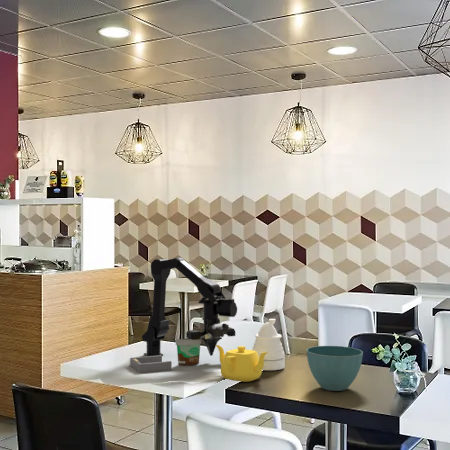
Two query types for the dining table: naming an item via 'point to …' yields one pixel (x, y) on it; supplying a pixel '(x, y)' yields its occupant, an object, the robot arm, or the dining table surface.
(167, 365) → the pocket bay
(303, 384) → the dining table surface
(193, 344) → the food container
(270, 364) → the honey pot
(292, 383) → the dining table surface
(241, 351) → the teapot
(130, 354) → the dining table surface
